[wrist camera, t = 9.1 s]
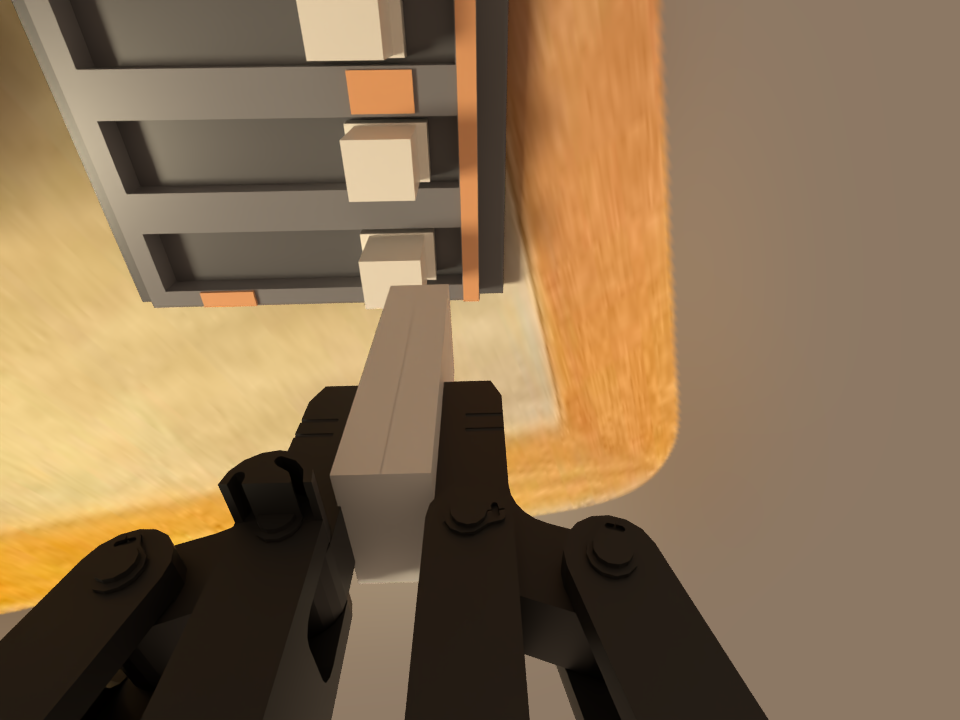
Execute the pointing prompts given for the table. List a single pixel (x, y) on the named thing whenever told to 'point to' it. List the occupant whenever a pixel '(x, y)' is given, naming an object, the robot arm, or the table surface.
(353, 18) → the tab front
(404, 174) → the tab mid
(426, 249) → the tab back
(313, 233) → the slotted block puzzle
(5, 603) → the table surface
